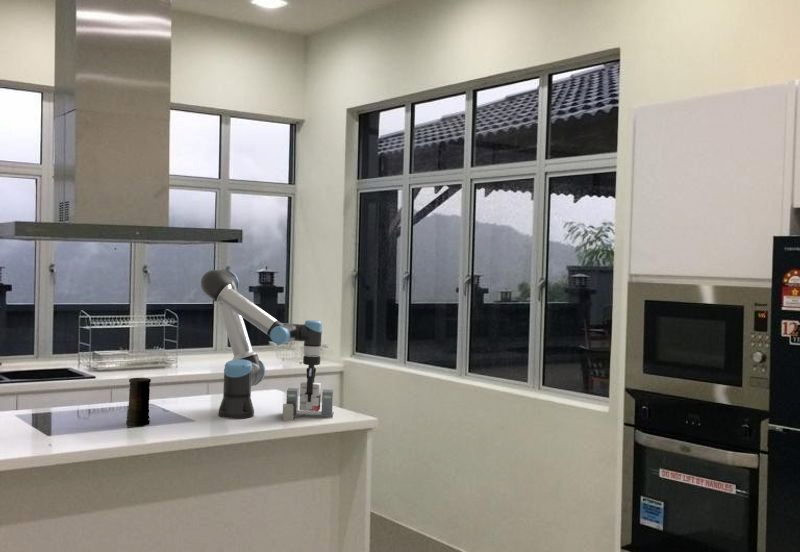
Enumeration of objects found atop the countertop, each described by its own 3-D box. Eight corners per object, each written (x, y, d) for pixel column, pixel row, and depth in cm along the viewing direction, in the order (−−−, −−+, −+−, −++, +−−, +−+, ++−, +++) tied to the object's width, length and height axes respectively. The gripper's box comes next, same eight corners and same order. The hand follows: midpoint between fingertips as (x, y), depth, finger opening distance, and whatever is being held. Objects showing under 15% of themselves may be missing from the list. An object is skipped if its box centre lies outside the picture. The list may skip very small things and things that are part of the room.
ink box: (320, 409, 353) (321, 382, 353) (318, 411, 348) (319, 384, 348) (301, 407, 354) (302, 381, 353) (298, 410, 349) (300, 383, 348)
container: (125, 421, 320) (127, 377, 320) (149, 421, 323) (150, 377, 323) (126, 426, 312) (128, 381, 311) (150, 425, 315) (152, 380, 314)
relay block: (283, 420, 337) (284, 406, 337) (282, 417, 343) (283, 403, 343) (292, 420, 338) (293, 406, 338) (291, 417, 344) (292, 403, 344)
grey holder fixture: (284, 415, 347) (285, 390, 346) (286, 412, 355) (287, 387, 354) (332, 417, 347) (333, 392, 347) (333, 414, 355) (334, 389, 355)
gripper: (319, 358, 341) (316, 412, 342) (321, 353, 360) (319, 404, 360) (301, 357, 341) (299, 411, 342) (305, 352, 359) (302, 403, 360)
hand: (309, 407), depth 351 cm, fingers closed on ink box, 5 cm apart
